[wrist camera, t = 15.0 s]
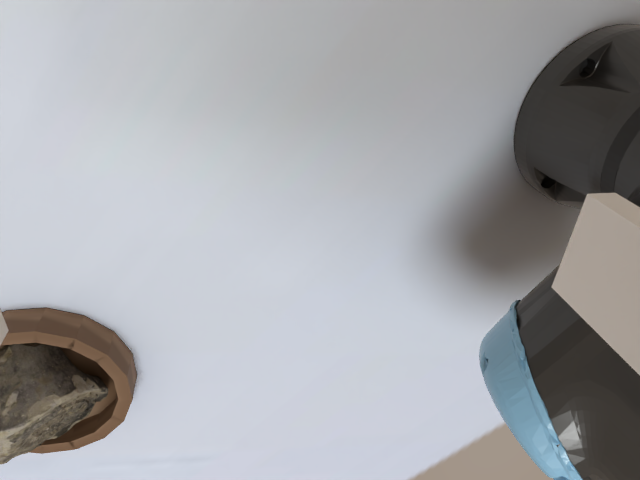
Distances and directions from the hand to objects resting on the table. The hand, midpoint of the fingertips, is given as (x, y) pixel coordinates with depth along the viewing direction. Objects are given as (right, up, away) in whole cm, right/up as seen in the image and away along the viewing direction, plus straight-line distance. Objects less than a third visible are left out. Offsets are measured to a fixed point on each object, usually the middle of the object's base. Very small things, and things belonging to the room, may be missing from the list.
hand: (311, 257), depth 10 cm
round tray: (-25, -12, +34) cm, 44 cm away
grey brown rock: (-25, -13, +33) cm, 44 cm away
